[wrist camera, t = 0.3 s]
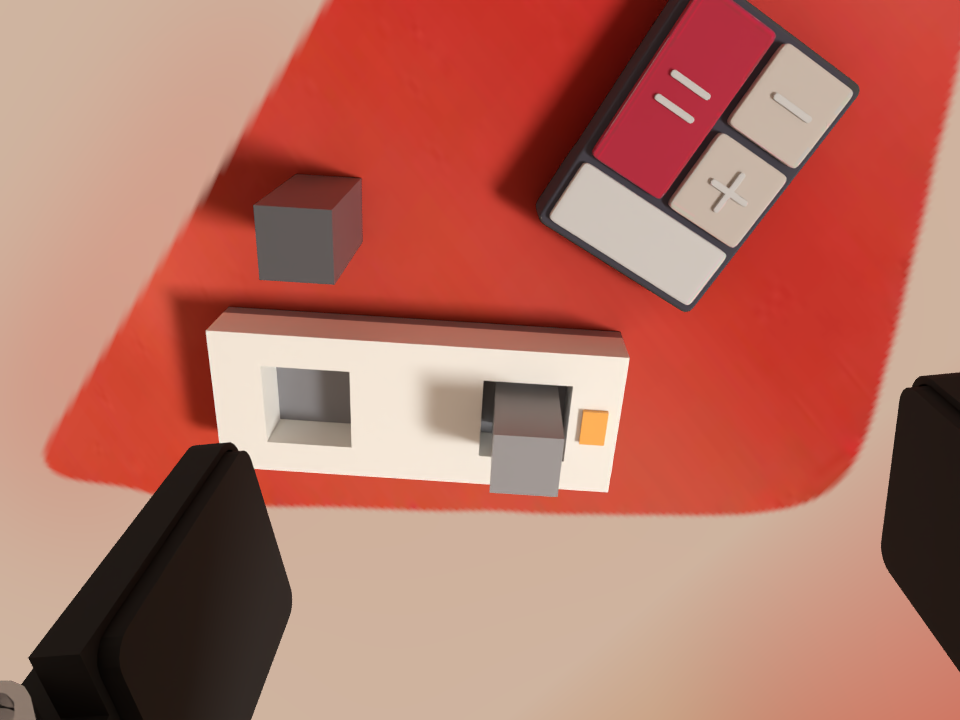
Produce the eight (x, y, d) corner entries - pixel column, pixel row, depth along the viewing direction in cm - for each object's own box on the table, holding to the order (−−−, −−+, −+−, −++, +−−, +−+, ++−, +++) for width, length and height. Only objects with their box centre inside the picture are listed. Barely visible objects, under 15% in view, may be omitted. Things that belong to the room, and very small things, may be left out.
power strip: (228, 306, 47) (203, 332, 43) (620, 331, 47) (630, 360, 43) (242, 435, 52) (220, 469, 48) (601, 458, 51) (608, 494, 47)
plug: (295, 174, 43) (253, 205, 36) (361, 178, 43) (331, 210, 36) (299, 238, 45) (259, 279, 38) (362, 241, 45) (334, 284, 38)
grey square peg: (496, 371, 48) (493, 434, 40) (556, 375, 47) (564, 439, 40) (492, 423, 49) (489, 492, 42) (550, 426, 49) (557, 496, 42)
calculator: (872, 89, 37) (691, 319, 42) (834, 86, 41) (674, 297, 46) (705, -37, 35) (536, 222, 40) (683, -27, 39) (532, 207, 44)
